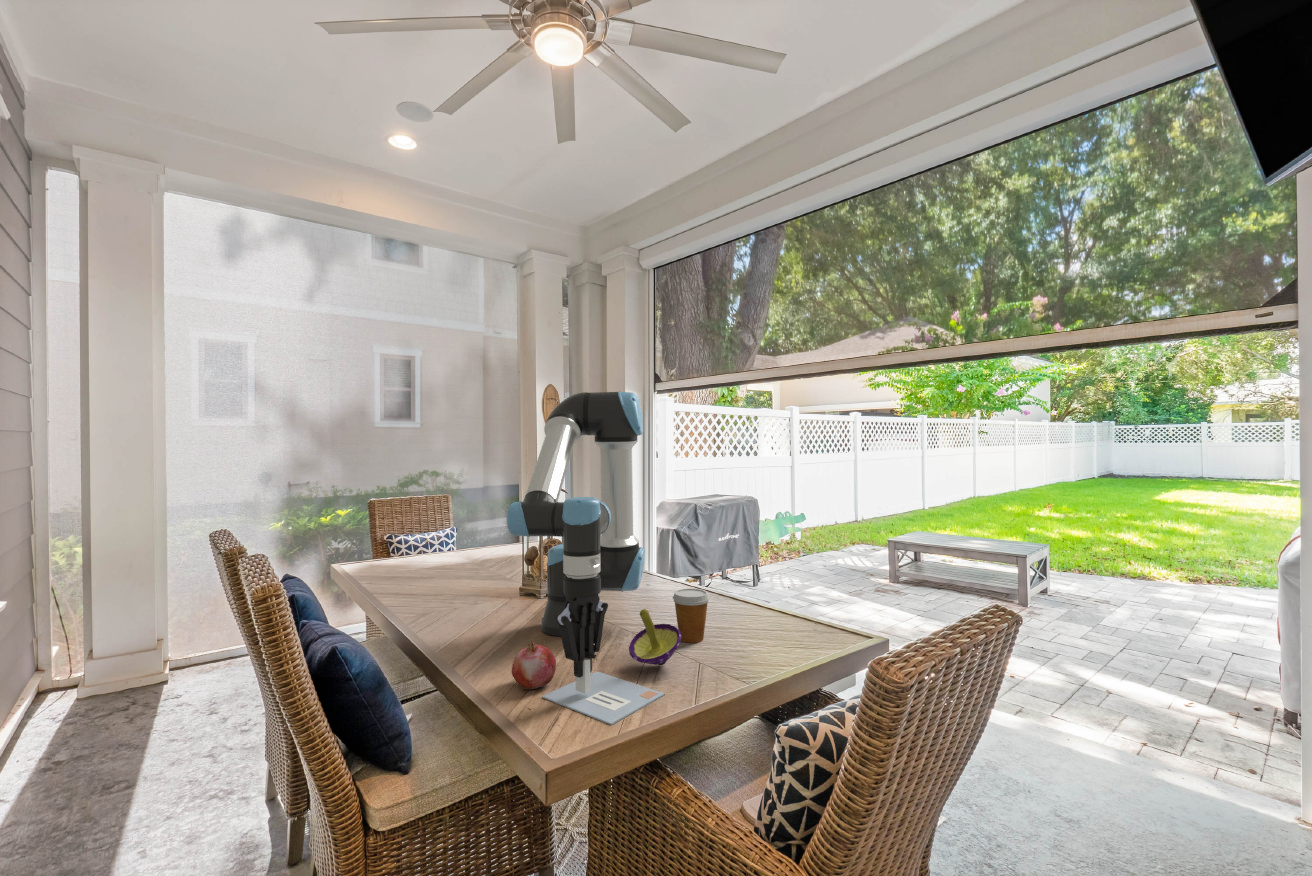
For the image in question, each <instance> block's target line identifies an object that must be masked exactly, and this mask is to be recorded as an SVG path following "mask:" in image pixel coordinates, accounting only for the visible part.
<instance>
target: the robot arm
mask: <svg viewBox="0 0 1312 876" xmlns="http://www.w3.org/2000/svg"><path fill="white" fill-rule="evenodd" d="M643 419H644V418H643V412H642V408H641V404H640V399H639V398H638V395H636V394H635V393H634V392H629V391H628V392H627V391H606V392H604V391H602V392H600V391H597V392H587V391H585V392H584V391H583V392H578V393H575V394H573V395H569V396H568V397H566V398H564V399H563V400H562V401H561V402H560V403H559V404H558V405H556V406H555V407H554V409H553V410H552V411H551V413H550V414H549V415H548V416H547V419H546V422H545V424H544V427H543V430H544V435H545V437H544V439H543V442H542V446H541V448H540V451H539V455H538V457H537V460H536V462H535V463H536V464H535V466H534V468H533V472H532V474H531V477H530V480H529V483H528V486H527V489H526V493H525V496H524V499H523V500H522V501H521V500H519V501H514V502H512V503H511V504H509V506H508V509H507V512H506V525H507V529H508V532H509V533H510V534H511V535H512V536H517V537H528V538H530V537H559V538H560V537H562V538H563V539H562V541H563V543H560V544H559V543H558V544H557V545H554V546H552V547H550V548H549V549H548V552H547V556H546V557H547V561H546V562H547V563H546V573H547V574H546V578H547V579H546V582H547V585H546V586H547V588H546V589H547V592H546V593H547V601H546V605H545V608H544V613H543V616H542V618H541V621H540V630H541V632H542V633H544V634H546V635H549V636H554V637H555V636H556V637H560V638H561V642H562V647H563V651H564V658H565V659H567V660H570V661H572V662H573V676H574V677H575V681H576V691H579V692H582V693H584V694H586V693H588V692H590V674H592V672H593V660H595V659H596V658H597V654H595V653H599V652H600V649H601V643H602V635H603V629H604V622H605V616H606V613H607V610H608V608H609V604H608V602H604V601H601V600H600V596H599V595H600V593H601V592H622V593H623V592H633V591H636V590H638V588H640V585H641V581H642V577H643V571H644V564H645V551H646V550H645V548H644V547H642V546H640V540H639V539H637V537H636V536H635V535H634V505H633V504H634V503H633V501H634V497H633V493H634V491H633V447H634V446H635V445H636V444H637V443H638V437H639V436H642V435H643V433H644V420H643ZM582 436H594V444H596V445H597V446H598V447H599V449H600V497H601V498H600V500H599V498H597V497H593V496H575V497H568V498H566V499H565V500H564V501H563V502H562V501H561V502H560V501H559V498H560V494H561V491H562V488H563V484H564V481H565V476H566V475H567V469H568V467H569V462H570V460H571V456H572V453H573V450H574V447H575V444H577V442H578V441H579V440H580V439H581V437H582Z"/></svg>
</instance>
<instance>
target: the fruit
mask: <svg viewBox="0 0 1312 876" xmlns="http://www.w3.org/2000/svg"><path fill="white" fill-rule="evenodd" d="M530 642H531V644H527V646H526V647H525V648H523V649H521V650H519V652H518V653H517V654H516V656H515V657H514V659H513V662H512V666H511V675H512V677H513V678H514V680H515V682H516V683H517V684H518V685H519V686H520V687H521V688H523V689H524V690H528V691H529V690H534V689H538V688H542V687H544V686H546V685H548V684H549V683H550V682H551V681H552V680H553V678H554V675H555V674H556V669H557V659H556V657H555V655H554V653H553V652H552V651H551V650H550V649H549V648H547V647H546V646H544V645H541V644H535V643H534V642H533V640H532V639H530Z"/></svg>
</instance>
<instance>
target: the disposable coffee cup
mask: <svg viewBox="0 0 1312 876" xmlns="http://www.w3.org/2000/svg"><path fill="white" fill-rule="evenodd" d="M672 599H673V602H674V608H675V615H676V622H677V629H678V630H679V631H680V633H681V642H684V643H688V644H689V643H690V644H691V643H692V644H695V643H700V642H702V641H704V638H705V637H704V636H705V629H706V628H705V627H706V619H707V611H708V602H709V600H710V596H709V593H708V591H707V590H704V589H700V588H680V589H677V590H675V591H674V594H673V596H672Z"/></svg>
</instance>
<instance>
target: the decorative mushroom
mask: <svg viewBox="0 0 1312 876" xmlns="http://www.w3.org/2000/svg"><path fill="white" fill-rule="evenodd" d="M639 616H640V618H641V621H642V622H643V625H644V629H642V630H640V631H639V632H638V633H637V634H636V635H635V636H634V637H633V638H632V640H631V641H630V644H629V647H628V651H629V652H628V653H629V655H630V657H631V658H632V659H633V660H635V661H637V662H639V663H640V664H648V665H654V666H655V665H658V666H664V665H665V664H666V662H668V660H670V659H671V657H672V656H673V655H674V653H675V652H676V650H677V649H678V647H679V646H680V643H681V642H682V641H681V633H680V631H679V630H678V627H677V626H675V625H672V624H669V623H658V624H654V622H653V620H652V617H651V615H650V612H649V610H648V609H646V608H644V609H641V610H640V612H639Z"/></svg>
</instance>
